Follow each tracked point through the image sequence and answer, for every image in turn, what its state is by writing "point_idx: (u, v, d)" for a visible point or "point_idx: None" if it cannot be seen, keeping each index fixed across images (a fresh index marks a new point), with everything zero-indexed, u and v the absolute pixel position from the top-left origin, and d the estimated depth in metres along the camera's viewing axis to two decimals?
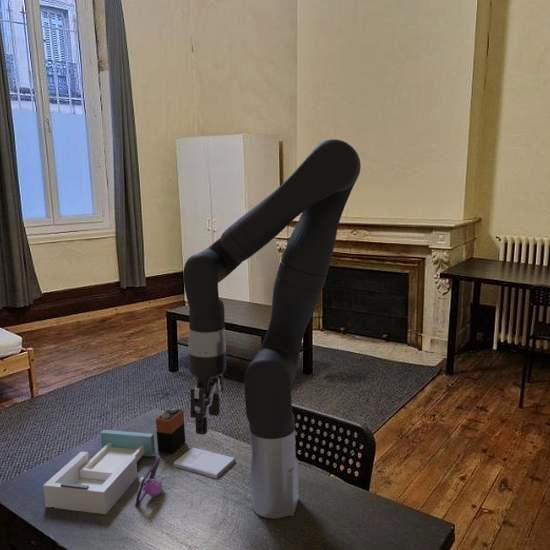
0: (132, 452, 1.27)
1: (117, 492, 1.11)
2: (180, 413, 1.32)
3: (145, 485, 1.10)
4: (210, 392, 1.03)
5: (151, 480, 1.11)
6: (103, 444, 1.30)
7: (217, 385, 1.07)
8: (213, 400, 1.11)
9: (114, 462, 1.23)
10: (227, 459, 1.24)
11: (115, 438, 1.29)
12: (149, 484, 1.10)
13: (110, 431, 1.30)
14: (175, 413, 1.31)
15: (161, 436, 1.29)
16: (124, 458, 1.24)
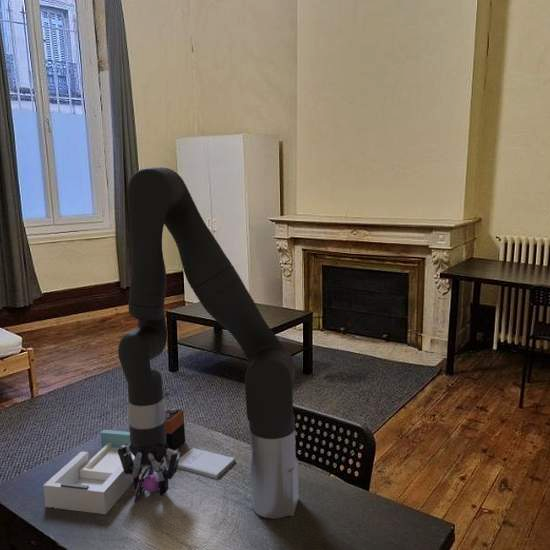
0: None
1: (117, 492, 1.11)
2: (180, 413, 1.32)
3: (144, 481, 1.12)
4: None
5: (150, 476, 1.12)
6: (103, 444, 1.30)
7: None
8: None
9: (114, 462, 1.23)
10: (227, 459, 1.24)
11: (115, 438, 1.29)
12: (148, 480, 1.12)
13: (110, 431, 1.30)
14: (175, 413, 1.31)
15: None
16: None
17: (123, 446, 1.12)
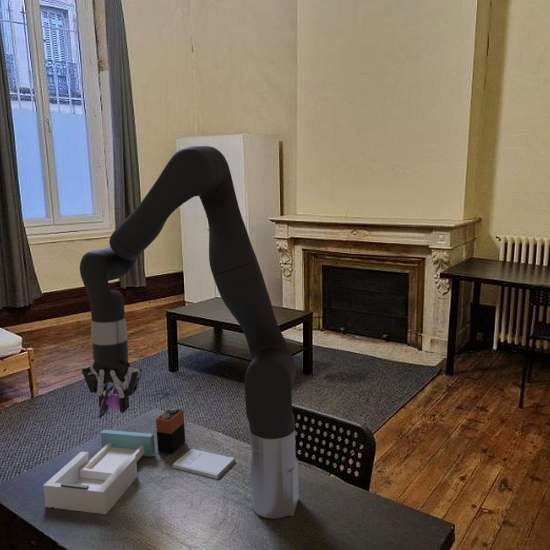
0: (132, 452, 1.27)
1: (117, 492, 1.11)
2: (180, 413, 1.32)
3: (108, 399, 1.17)
4: None
5: (114, 395, 1.18)
6: (103, 444, 1.30)
7: None
8: None
9: (114, 462, 1.23)
10: (227, 459, 1.24)
11: (115, 438, 1.29)
12: (112, 398, 1.17)
13: (110, 431, 1.30)
14: (175, 413, 1.31)
15: (161, 436, 1.29)
16: (124, 458, 1.24)
17: (87, 366, 1.17)
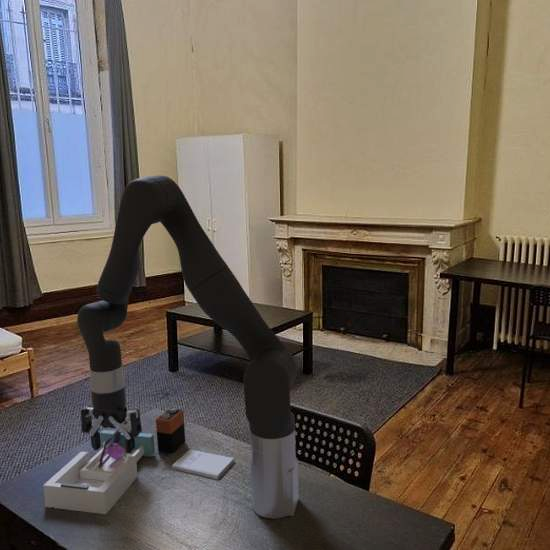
0: (132, 452, 1.27)
1: (117, 492, 1.11)
2: (180, 413, 1.32)
3: (108, 448, 1.22)
4: None
5: (114, 444, 1.23)
6: None
7: None
8: (97, 435, 1.23)
9: (114, 462, 1.23)
10: (227, 460, 1.24)
11: None
12: (112, 447, 1.22)
13: (110, 431, 1.30)
14: (175, 413, 1.31)
15: (161, 436, 1.29)
16: (124, 458, 1.24)
17: (87, 408, 1.22)
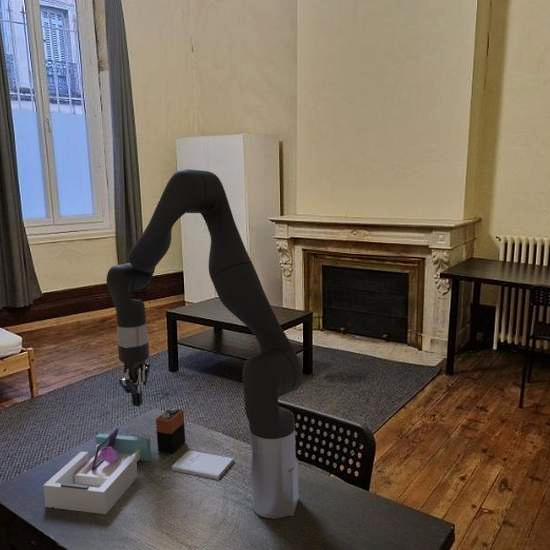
0: None
1: (117, 492, 1.11)
2: (180, 413, 1.32)
3: (101, 452, 1.21)
4: None
5: (107, 447, 1.21)
6: None
7: None
8: None
9: (109, 467, 1.21)
10: (226, 460, 1.24)
11: None
12: (105, 451, 1.20)
13: (106, 435, 1.28)
14: (175, 413, 1.31)
15: (161, 436, 1.29)
16: (120, 463, 1.22)
17: (124, 379, 1.28)
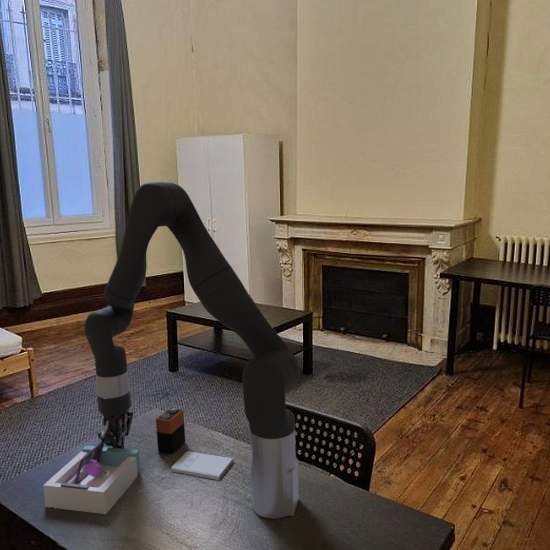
0: None
1: (117, 492, 1.11)
2: (180, 413, 1.32)
3: (85, 465, 1.15)
4: None
5: (92, 461, 1.15)
6: None
7: None
8: None
9: (96, 481, 1.15)
10: (226, 460, 1.24)
11: None
12: (89, 465, 1.15)
13: (92, 447, 1.23)
14: (175, 413, 1.31)
15: (161, 436, 1.29)
16: (106, 477, 1.17)
17: (104, 432, 1.18)
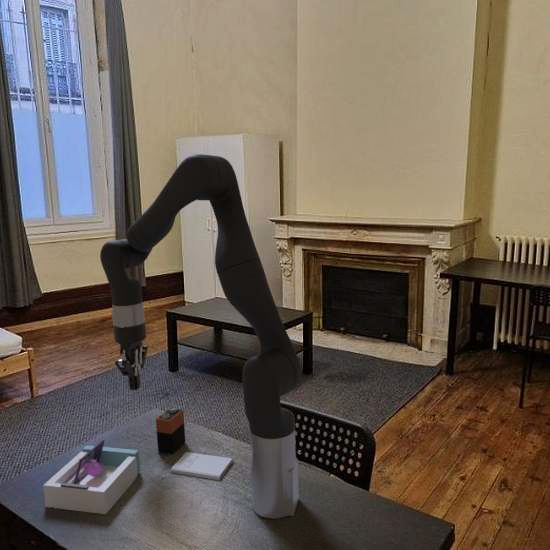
0: None
1: (117, 492, 1.11)
2: (180, 413, 1.32)
3: (85, 465, 1.15)
4: None
5: (91, 461, 1.15)
6: None
7: None
8: None
9: (96, 481, 1.15)
10: (225, 460, 1.24)
11: None
12: (88, 464, 1.15)
13: (93, 447, 1.23)
14: (175, 413, 1.31)
15: (161, 436, 1.29)
16: (107, 476, 1.17)
17: (121, 360, 1.22)
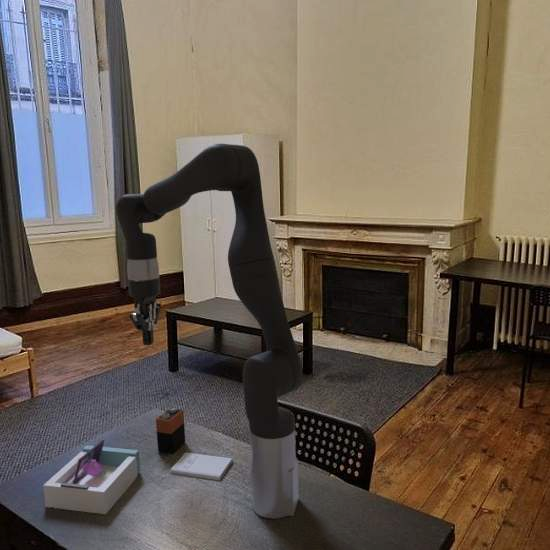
0: None
1: (117, 492, 1.11)
2: (180, 413, 1.32)
3: (84, 465, 1.15)
4: None
5: (90, 460, 1.16)
6: None
7: None
8: None
9: (96, 481, 1.15)
10: (225, 460, 1.24)
11: None
12: (88, 464, 1.15)
13: None
14: (175, 413, 1.31)
15: (161, 436, 1.29)
16: (107, 476, 1.17)
17: (135, 313, 1.23)
